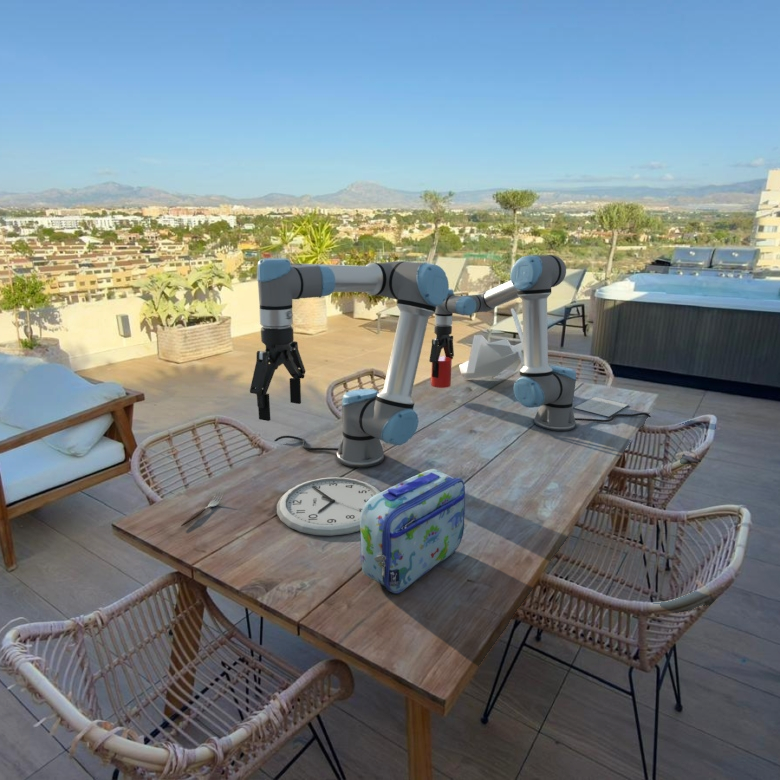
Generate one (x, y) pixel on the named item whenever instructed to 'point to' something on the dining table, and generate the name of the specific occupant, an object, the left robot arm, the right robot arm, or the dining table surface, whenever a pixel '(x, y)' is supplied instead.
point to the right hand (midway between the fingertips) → (441, 374)
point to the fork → (211, 504)
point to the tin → (443, 373)
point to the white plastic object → (492, 355)
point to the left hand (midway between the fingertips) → (280, 411)
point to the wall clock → (325, 506)
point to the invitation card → (601, 406)
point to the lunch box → (411, 528)
